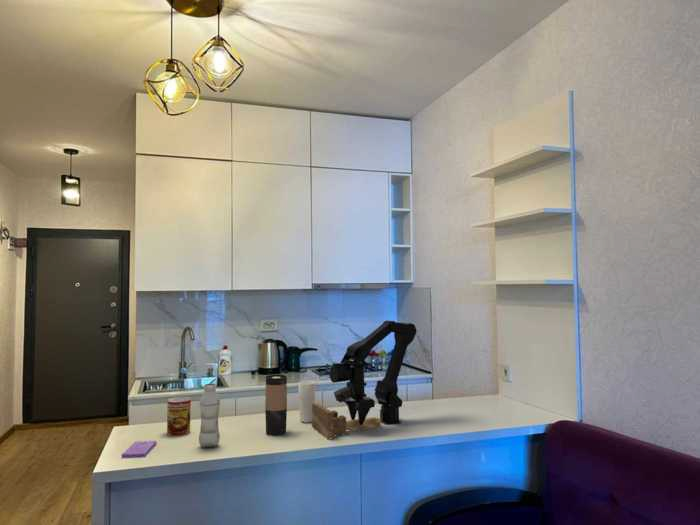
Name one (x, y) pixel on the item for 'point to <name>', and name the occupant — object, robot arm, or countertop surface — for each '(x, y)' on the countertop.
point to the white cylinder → (306, 399)
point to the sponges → (139, 449)
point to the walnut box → (327, 421)
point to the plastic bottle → (209, 417)
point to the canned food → (178, 416)
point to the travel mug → (276, 404)
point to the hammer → (367, 423)
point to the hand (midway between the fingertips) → (356, 422)
